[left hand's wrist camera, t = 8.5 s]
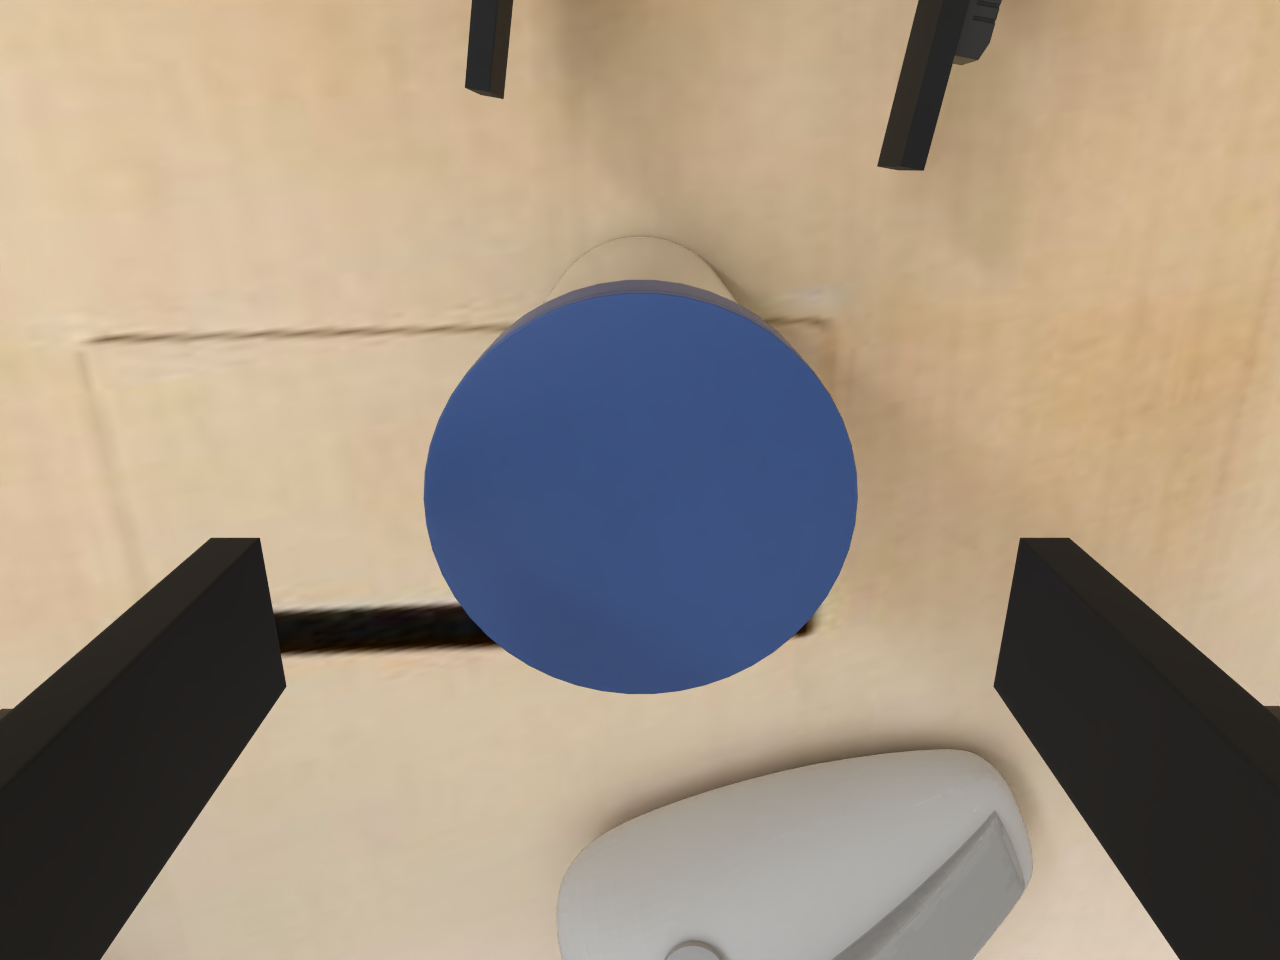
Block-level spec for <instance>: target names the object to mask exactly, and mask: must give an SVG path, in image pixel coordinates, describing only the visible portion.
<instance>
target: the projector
mask: <svg viewBox="0 0 1280 960" xmlns="http://www.w3.org/2000/svg"><path fill="white" fill-rule="evenodd" d="M1032 870H1033V858H1032V850H1031V845H1030V841H1029V837H1028V833H1027V830H1026V827H1025V824H1024V821H1023V818H1022V816H1021V813H1020V810H1019V808H1018V805H1017V803H1016V801H1015V798H1014V796H1013V794H1012V792H1011V790H1010V788H1009V787H1008V785H1007V783H1006V782H1005V780H1004V779H1003V777H1002V776H1001V775H1000V773H999V772H998V771H997V770H996V769H995V768H994V767H993V766H992V765H991V764H990V763H988V762H987V761H986V760H984V759H983V758H981V757H980V756H978V755H976V754H974V753H971V752H968V751H964V750H955V749H935V750H916V751H905V752H895V753H885V754H877V755H870V756H862V757H855V758H848V759H842V760H836V761H830V762H825V763H819V764H813V765H808V766H804V767H799V768H794V769H789V770H785V771H780V772H776V773H772V774H768V775H764V776H760V777H756V778H752V779H748V780H744V781H741V782H738V783H734V784H731V785H727V786H724V787H720V788H717V789H713V790H710V791H707V792H704V793H701V794H698V795H695V796H692V797H689V798H686V799H683V800H680V801H677V802H674V803H672V804H669V805H666V806H663V807H660V808H658V809H655V810H653V811H650V812H648V813H645V814H643V815H640V816H638V817H636V818H633V819H631V820H629V821H627V822H625V823H623V824H621V825H619V826H617V827H615V828H613V829H611V830H609V831H608V832H606V833H605V834H603V835H601V836H600V837H598V838H597V839H595V840H594V841H593V842H591V843H590V844H589V845H588V846H586V847H585V848H584V849H583V850H582V851H581V852H580V853H579V854H578V856H577V857H576V858H575V859H574V860H573V862H572V864H571V865H570V867H569V868H568V870H567V872H566V874H565V876H564V878H563V881H562V883H561V887H560V891H559V896H558V904H557V933H558V942H559V947H560V952H561V956H562V959H563V960H972V959H973V958H974V957H975V956H976V954H977V953H978V952H979V951H980V949H981V948H982V947H983V946H984V945H985V943H986V942H987V941H988V940H989V938H990V937H991V936H992V934H993V933H994V932H995V931H996V929H997V928H998V927H999V925H1000V924H1001V923H1002V922H1003V920H1004V919H1005V918H1006V917H1007V915H1008V914H1009V913H1010V911H1011V910H1012V908H1013V907H1014V906H1015V904H1016V903H1017V901H1018V900H1019V899H1020V897H1021V895H1022V894H1023V892H1024V891H1025V889H1026V887H1027V885H1028V883H1029V881H1030V878H1031V875H1032Z"/></svg>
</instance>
